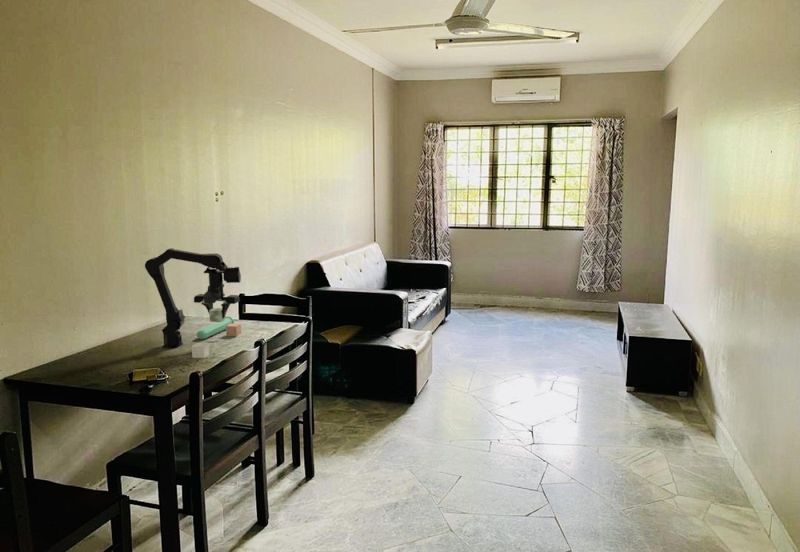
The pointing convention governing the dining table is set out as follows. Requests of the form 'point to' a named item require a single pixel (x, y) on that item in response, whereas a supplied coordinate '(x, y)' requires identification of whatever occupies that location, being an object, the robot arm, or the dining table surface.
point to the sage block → (216, 315)
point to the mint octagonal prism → (214, 328)
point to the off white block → (200, 350)
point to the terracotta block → (233, 329)
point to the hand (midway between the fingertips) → (217, 318)
